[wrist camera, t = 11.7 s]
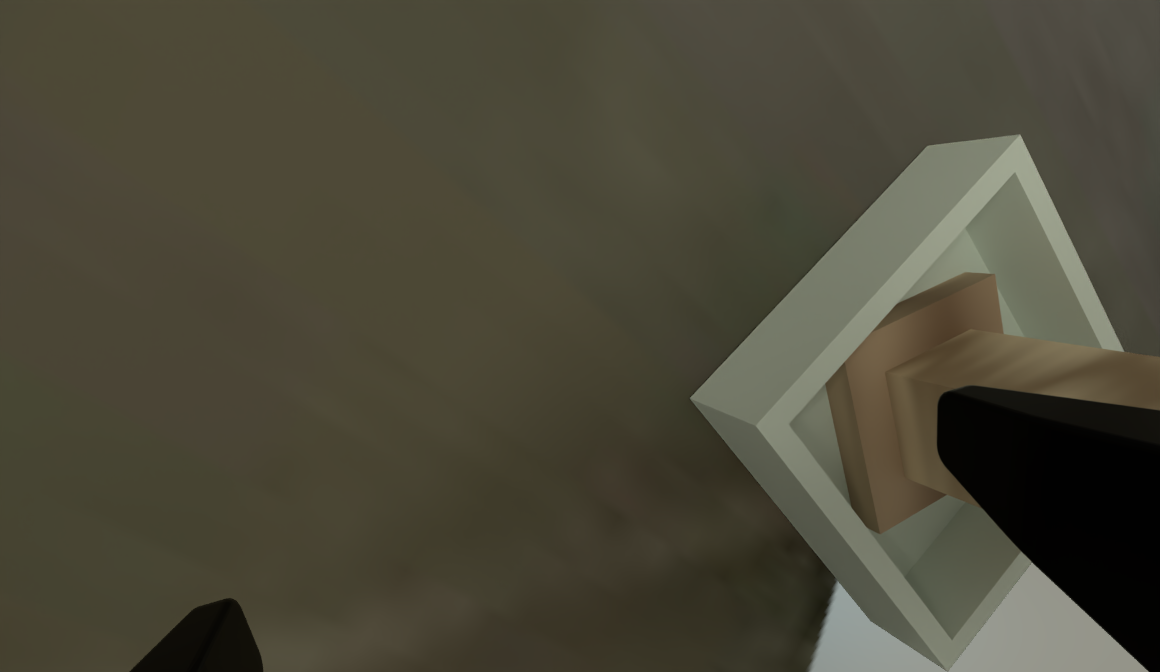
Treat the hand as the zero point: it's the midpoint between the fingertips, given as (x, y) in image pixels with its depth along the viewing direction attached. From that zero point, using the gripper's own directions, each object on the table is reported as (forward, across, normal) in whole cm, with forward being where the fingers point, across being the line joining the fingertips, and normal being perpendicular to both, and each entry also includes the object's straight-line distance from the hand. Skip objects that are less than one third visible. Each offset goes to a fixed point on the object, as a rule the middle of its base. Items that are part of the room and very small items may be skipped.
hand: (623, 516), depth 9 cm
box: (+14, -14, +8) cm, 21 cm away
